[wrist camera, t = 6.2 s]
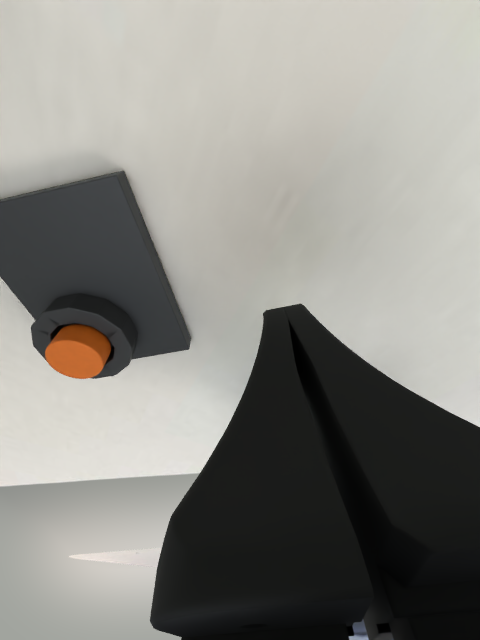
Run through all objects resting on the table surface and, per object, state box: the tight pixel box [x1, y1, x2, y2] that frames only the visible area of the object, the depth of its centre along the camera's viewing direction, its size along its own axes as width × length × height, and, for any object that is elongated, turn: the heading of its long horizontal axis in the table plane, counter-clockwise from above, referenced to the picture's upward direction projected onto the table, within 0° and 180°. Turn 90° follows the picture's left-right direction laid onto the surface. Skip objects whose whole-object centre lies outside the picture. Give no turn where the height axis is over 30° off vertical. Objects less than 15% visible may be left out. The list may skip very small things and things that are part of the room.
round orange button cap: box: [45, 324, 111, 379], centre depth 19 cm, size 4×4×2 cm
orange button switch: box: [0, 171, 191, 379], centre depth 19 cm, size 13×10×3 cm
